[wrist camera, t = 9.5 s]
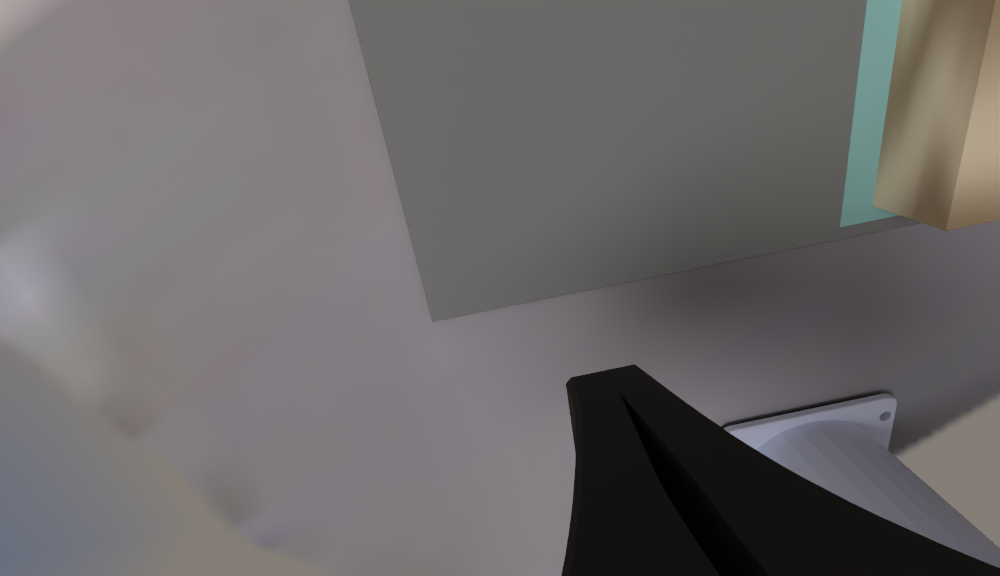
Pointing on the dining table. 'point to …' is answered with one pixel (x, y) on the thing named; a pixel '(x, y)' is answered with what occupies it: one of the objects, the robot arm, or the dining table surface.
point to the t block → (943, 115)
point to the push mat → (624, 135)
